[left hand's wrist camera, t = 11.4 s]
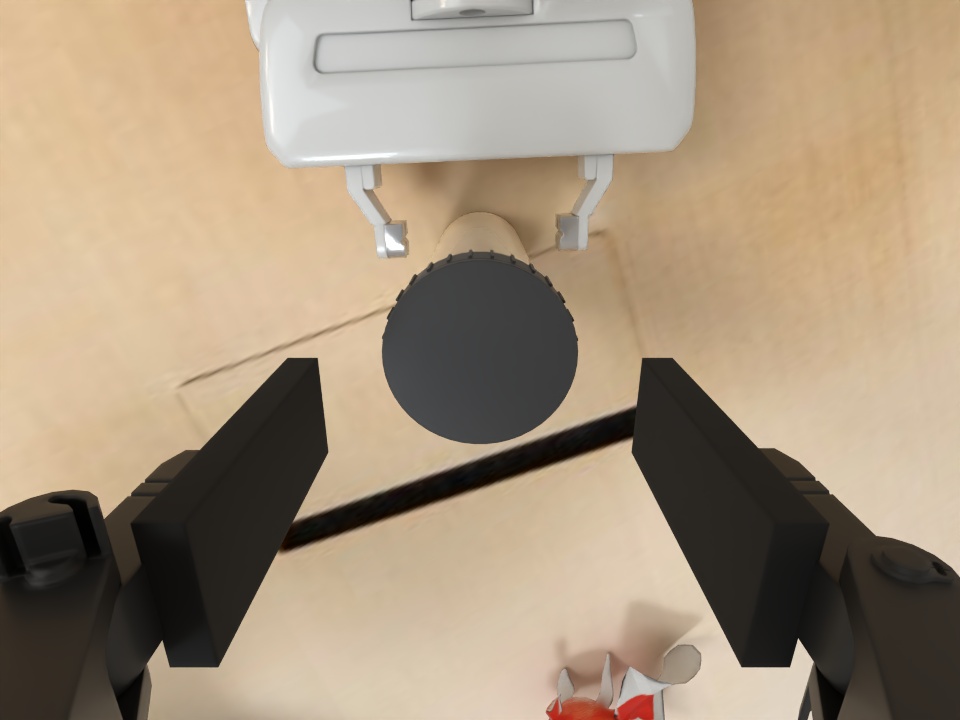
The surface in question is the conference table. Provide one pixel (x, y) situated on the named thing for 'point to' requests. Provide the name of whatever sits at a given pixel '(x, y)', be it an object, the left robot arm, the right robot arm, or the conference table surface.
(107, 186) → the conference table surface
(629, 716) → the fish
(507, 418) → the lid
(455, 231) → the jar
